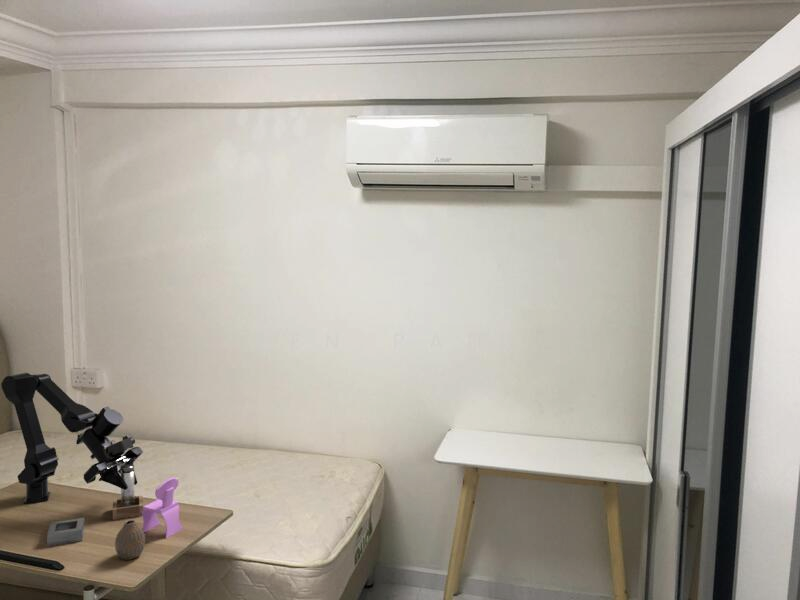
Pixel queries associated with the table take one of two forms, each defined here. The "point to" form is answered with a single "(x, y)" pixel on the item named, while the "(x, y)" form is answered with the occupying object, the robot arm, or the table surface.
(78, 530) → the socket block
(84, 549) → the table surface
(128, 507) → the block
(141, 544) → the vase
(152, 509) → the toy chair
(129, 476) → the silver and grey cylinder
